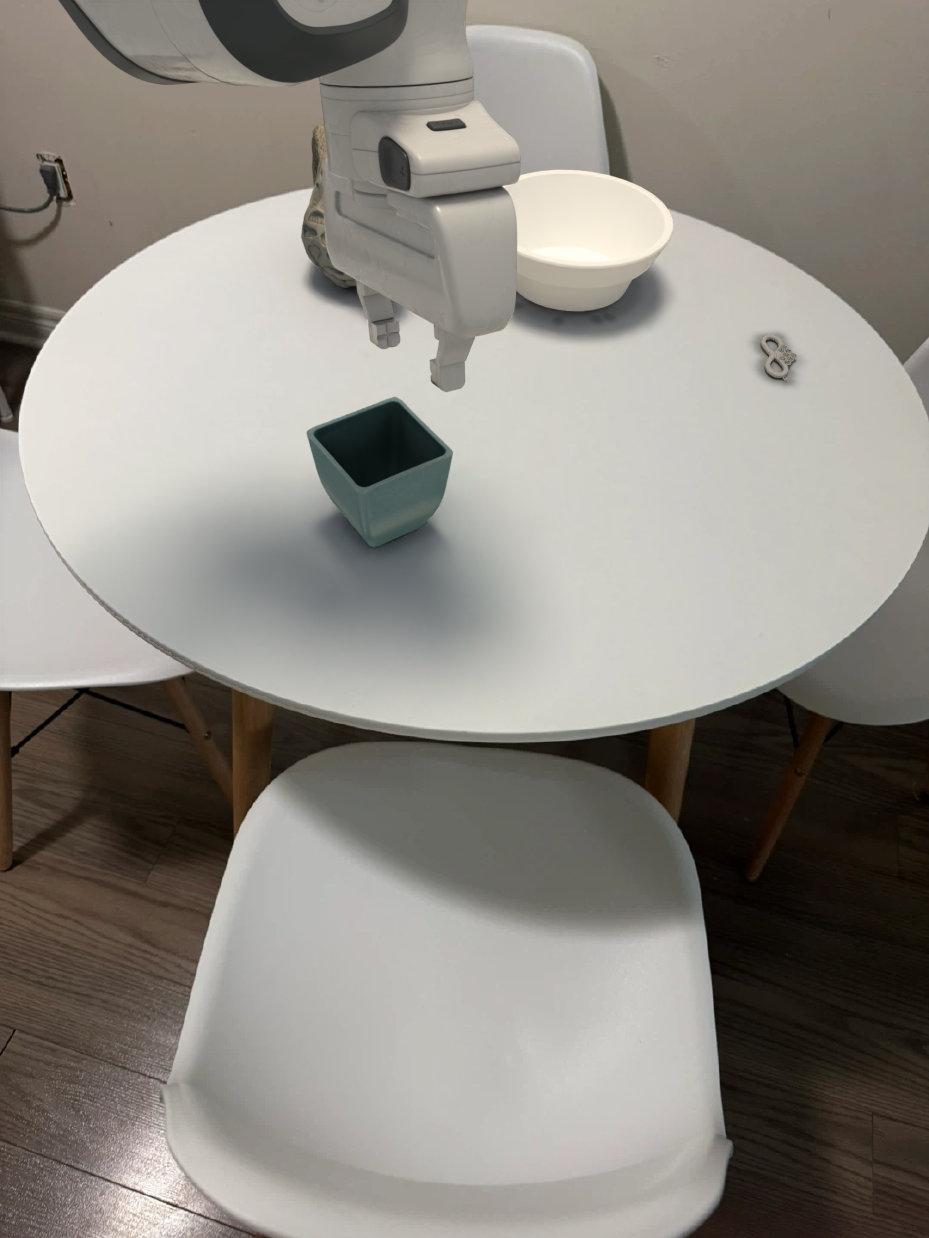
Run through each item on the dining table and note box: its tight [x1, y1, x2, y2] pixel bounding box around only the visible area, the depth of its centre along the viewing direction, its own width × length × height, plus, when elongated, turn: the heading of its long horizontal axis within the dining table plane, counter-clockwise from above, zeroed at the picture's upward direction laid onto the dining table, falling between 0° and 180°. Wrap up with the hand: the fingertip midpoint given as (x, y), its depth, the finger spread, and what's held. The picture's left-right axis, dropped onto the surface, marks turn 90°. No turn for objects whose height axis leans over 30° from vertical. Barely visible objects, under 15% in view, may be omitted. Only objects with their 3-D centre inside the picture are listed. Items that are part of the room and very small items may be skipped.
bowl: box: [502, 169, 675, 312], centre depth 98 cm, size 21×21×8 cm
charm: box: [760, 333, 798, 381], centre depth 93 cm, size 8×1×4 cm
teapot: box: [300, 123, 357, 289], centre depth 95 cm, size 21×12×15 cm, turn 26°
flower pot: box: [306, 396, 454, 548], centre depth 73 cm, size 9×9×9 cm
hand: (415, 365), depth 60 cm, fingers open, 8 cm apart
